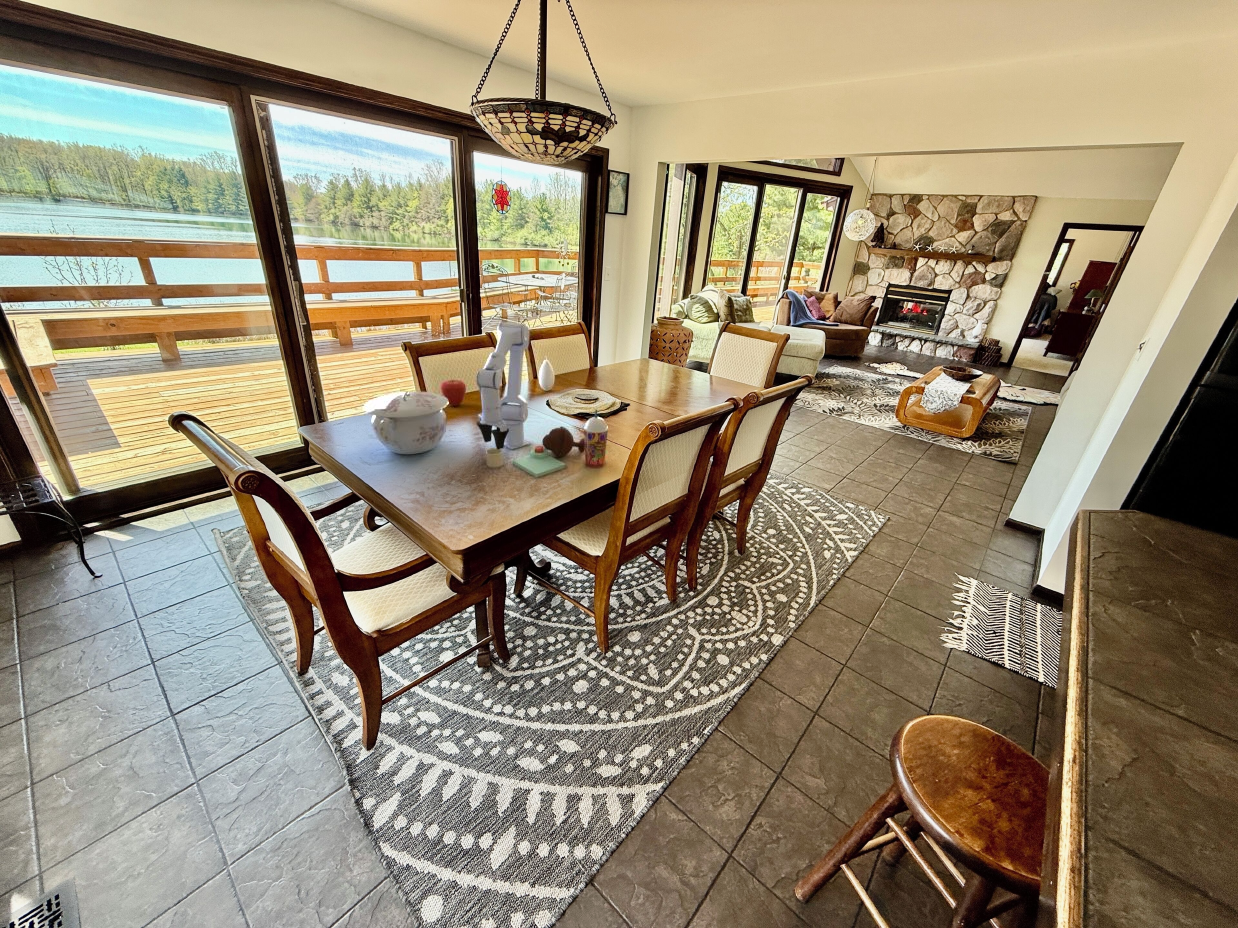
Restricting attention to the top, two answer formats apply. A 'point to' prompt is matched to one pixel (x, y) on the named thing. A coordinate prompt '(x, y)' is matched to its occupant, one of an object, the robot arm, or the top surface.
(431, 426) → the chamber pot
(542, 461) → the scale
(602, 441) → the smoothie
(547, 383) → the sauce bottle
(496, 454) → the beige cup
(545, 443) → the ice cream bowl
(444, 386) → the apple
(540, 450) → the tare button
